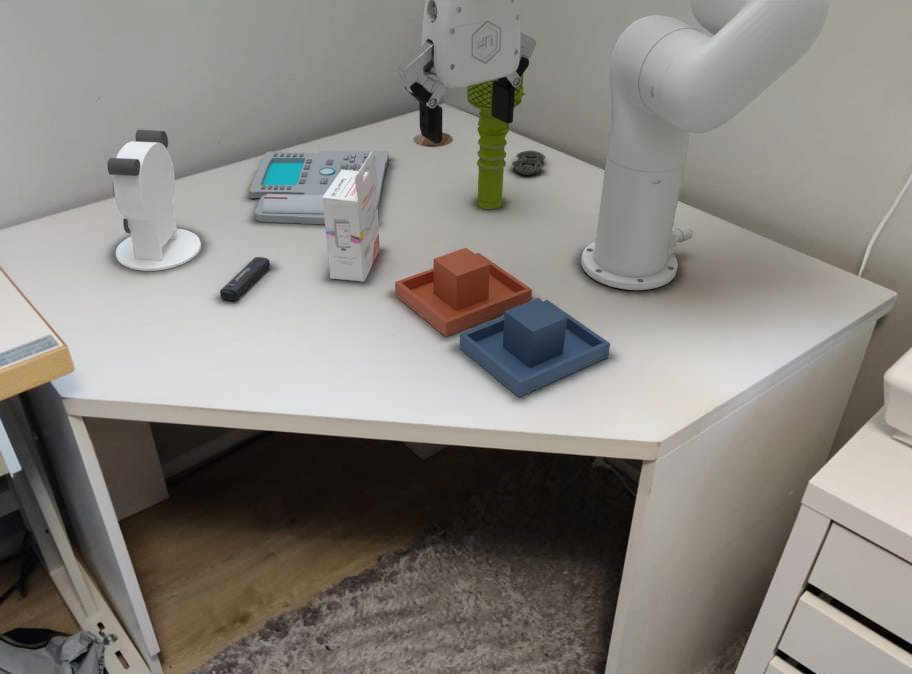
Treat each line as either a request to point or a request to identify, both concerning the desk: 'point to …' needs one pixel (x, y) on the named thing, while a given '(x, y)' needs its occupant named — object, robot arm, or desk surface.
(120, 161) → the panda figurine
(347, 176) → the ink cartridge box
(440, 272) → the terracotta block
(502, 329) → the slate tray
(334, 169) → the office telephone
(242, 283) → the usb stick
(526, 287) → the terracotta tray
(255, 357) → the desk surface
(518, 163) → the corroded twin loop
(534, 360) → the slate block
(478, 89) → the microphone
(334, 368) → the desk surface
